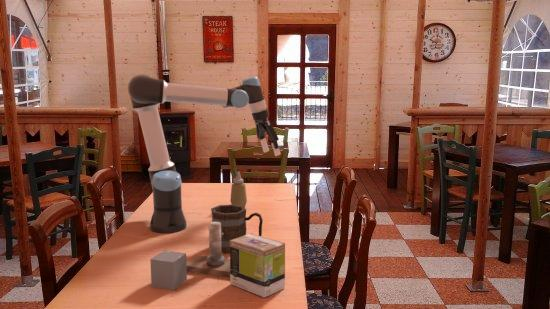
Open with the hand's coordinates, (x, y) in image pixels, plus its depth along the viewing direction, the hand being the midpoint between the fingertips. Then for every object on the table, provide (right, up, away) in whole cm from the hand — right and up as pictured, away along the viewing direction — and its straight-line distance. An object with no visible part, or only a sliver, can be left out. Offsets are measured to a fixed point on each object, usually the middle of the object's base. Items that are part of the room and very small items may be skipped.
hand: (272, 153), depth 233 cm
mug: (-13, -36, -45) cm, 59 cm away
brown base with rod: (-19, -39, -65) cm, 78 cm away
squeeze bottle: (-16, -27, +8) cm, 32 cm away
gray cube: (-32, -41, -76) cm, 92 cm away
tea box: (-4, -42, -78) cm, 88 cm away
